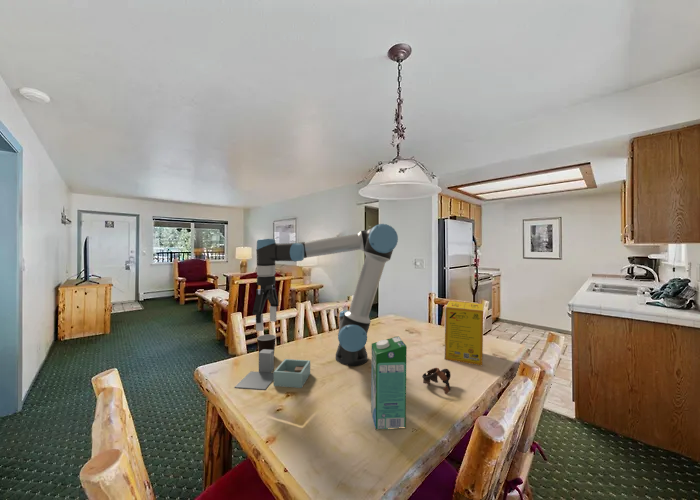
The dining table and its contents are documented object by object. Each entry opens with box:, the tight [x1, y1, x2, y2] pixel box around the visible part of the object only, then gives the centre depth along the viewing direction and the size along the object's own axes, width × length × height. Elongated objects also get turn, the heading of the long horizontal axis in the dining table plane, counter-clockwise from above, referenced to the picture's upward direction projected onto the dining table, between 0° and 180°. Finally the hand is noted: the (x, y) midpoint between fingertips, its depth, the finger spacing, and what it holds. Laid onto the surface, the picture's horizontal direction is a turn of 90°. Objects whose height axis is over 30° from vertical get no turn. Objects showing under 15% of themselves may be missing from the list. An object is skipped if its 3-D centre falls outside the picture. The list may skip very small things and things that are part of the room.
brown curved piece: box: [422, 367, 452, 395], centre depth 110 cm, size 12×9×8 cm
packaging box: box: [444, 300, 484, 366], centre depth 139 cm, size 16×16×25 cm
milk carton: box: [370, 335, 408, 430], centre depth 88 cm, size 9×9×25 cm
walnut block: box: [295, 366, 304, 373], centre depth 116 cm, size 4×4×4 cm
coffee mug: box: [256, 334, 277, 353], centre depth 137 cm, size 12×9×10 cm
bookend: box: [234, 349, 275, 391], centre depth 114 cm, size 12×17×9 cm
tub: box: [273, 358, 311, 389], centre depth 113 cm, size 11×12×6 cm
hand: (266, 325), depth 120 cm, fingers open, 13 cm apart
